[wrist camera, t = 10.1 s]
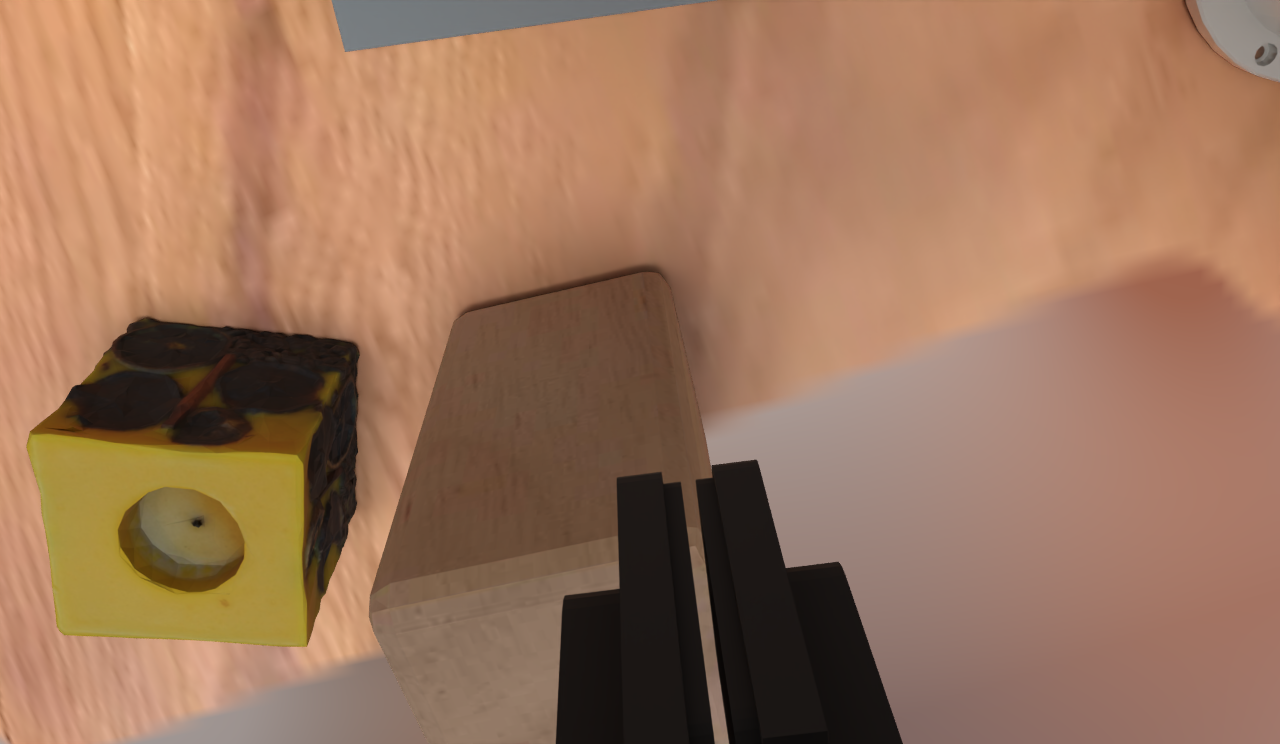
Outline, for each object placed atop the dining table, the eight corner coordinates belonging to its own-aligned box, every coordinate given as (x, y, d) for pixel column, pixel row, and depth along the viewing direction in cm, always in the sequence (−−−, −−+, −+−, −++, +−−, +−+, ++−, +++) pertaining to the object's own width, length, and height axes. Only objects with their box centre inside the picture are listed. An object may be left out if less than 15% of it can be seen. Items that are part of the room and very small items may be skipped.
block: (448, 307, 44) (347, 615, 26) (664, 258, 43) (709, 540, 25) (512, 484, 48) (462, 845, 31) (707, 442, 48) (770, 787, 30)
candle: (151, 495, 48) (52, 639, 39) (130, 312, 43) (11, 429, 35) (360, 514, 49) (308, 658, 40) (361, 336, 44) (302, 456, 36)
